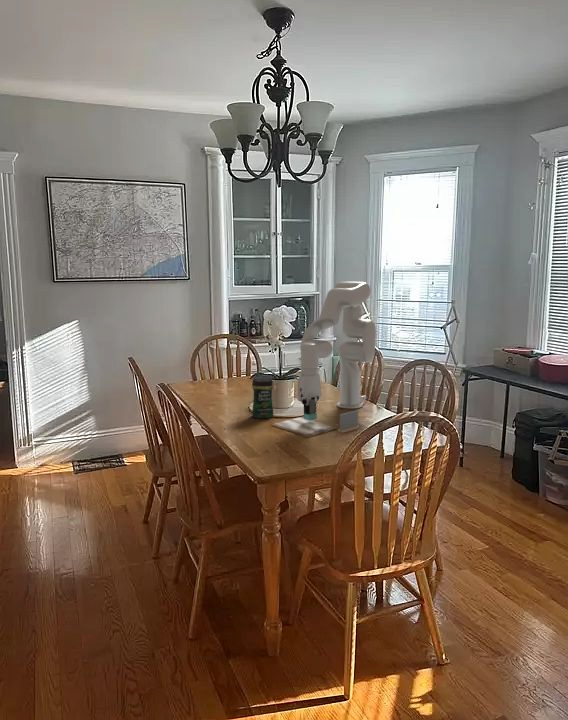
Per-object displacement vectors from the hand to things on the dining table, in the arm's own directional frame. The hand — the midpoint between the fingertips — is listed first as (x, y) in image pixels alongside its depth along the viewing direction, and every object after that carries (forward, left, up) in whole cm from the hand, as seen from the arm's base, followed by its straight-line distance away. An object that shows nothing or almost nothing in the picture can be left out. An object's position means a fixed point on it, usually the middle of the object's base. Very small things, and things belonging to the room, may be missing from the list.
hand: (309, 412), depth 253 cm
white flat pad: (+5, +2, -5) cm, 7 cm away
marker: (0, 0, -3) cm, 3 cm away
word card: (-7, +17, -5) cm, 19 cm away
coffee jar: (+8, -23, -5) cm, 25 cm away
